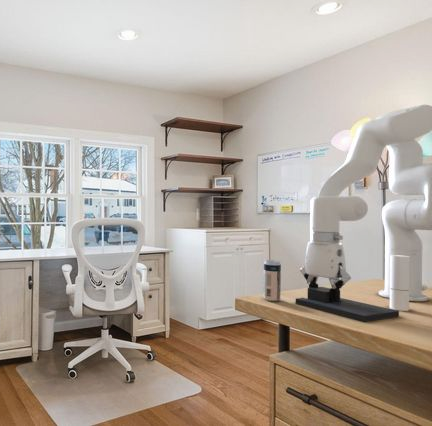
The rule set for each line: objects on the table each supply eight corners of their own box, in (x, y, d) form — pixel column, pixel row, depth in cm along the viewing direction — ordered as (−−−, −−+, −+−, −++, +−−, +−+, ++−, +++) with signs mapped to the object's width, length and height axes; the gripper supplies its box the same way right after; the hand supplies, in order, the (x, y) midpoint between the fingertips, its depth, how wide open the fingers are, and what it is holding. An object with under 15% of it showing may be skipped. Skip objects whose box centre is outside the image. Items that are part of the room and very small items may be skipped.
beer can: (283, 302, 113) (283, 261, 113) (267, 301, 113) (267, 261, 113) (276, 298, 118) (276, 259, 118) (260, 298, 118) (261, 259, 118)
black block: (321, 298, 114) (321, 286, 114) (340, 302, 109) (340, 290, 109) (307, 299, 112) (307, 287, 112) (325, 304, 106) (326, 291, 106)
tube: (412, 311, 104) (412, 257, 104) (394, 310, 105) (395, 256, 105) (403, 307, 108) (404, 255, 108) (386, 306, 109) (387, 254, 109)
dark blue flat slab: (328, 299, 117) (328, 295, 117) (399, 316, 98) (399, 310, 98) (295, 303, 111) (295, 298, 111) (364, 322, 93) (364, 315, 93)
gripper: (362, 240, 104) (361, 305, 104) (307, 236, 120) (306, 292, 120) (344, 240, 101) (343, 307, 101) (290, 236, 117) (289, 294, 117)
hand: (323, 299), depth 110 cm, fingers closed on black block, 5 cm apart
